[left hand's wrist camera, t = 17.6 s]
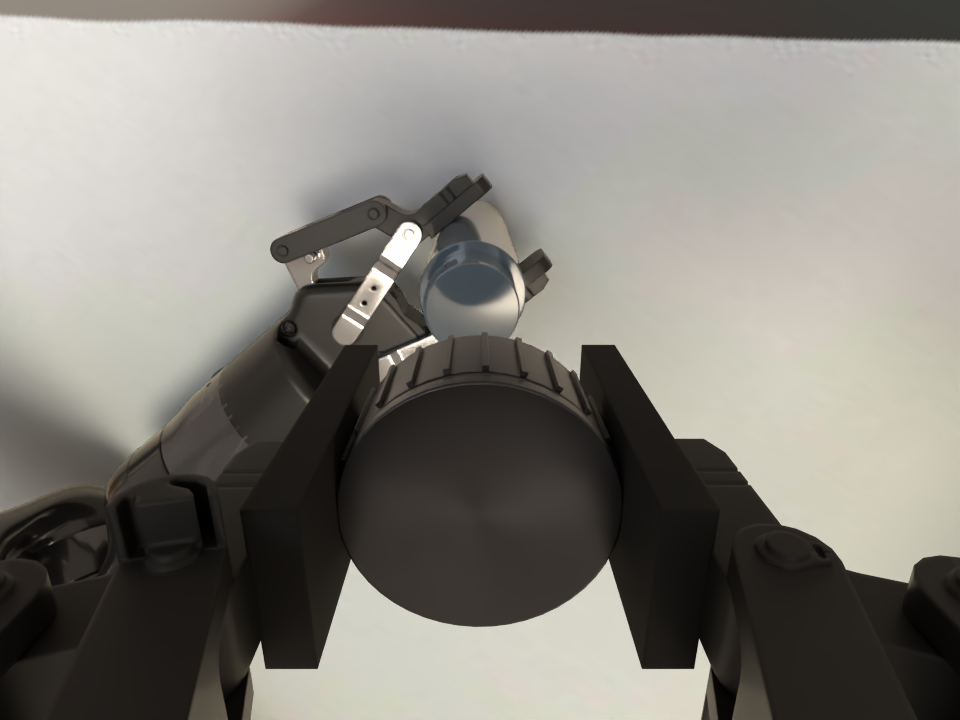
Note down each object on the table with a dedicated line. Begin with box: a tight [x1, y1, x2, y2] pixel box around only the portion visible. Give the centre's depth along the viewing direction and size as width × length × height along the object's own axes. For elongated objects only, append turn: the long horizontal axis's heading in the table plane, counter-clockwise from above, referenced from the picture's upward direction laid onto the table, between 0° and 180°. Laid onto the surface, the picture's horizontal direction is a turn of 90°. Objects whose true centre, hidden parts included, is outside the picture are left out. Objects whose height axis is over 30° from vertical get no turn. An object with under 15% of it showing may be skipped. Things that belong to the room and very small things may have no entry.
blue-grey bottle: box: [419, 200, 526, 342], centre depth 28 cm, size 4×4×16 cm
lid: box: [336, 332, 623, 627], centre depth 11 cm, size 5×5×2 cm
